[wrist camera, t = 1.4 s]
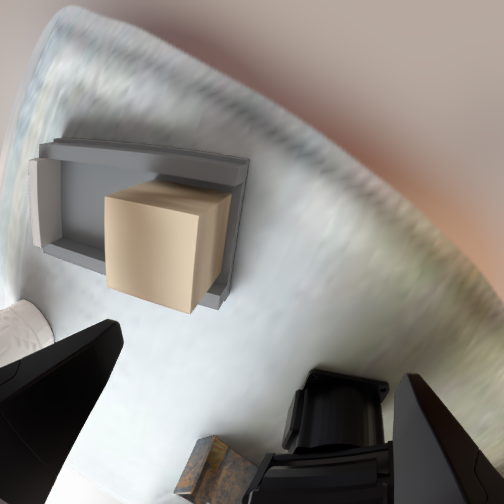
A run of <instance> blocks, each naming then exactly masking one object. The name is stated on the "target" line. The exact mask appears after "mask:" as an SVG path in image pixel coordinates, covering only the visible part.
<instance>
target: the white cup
mask: <svg viewBox="0 0 504 504" xmlns="http://www.w3.org/2000/svg"><path fill="white" fill-rule="evenodd" d="M51 344H54V337H53V333H52V331H51V328H50V326H49V324H48V322H47V321H46V319H45V318H44V316H43V315H42V313H41V312H40V311H39V310H38V309H37V308H36V307H35V306H34V305H33V304H32V303H31V302H29V301H27V300H25V299H23V300H19V301H17V302H15V303H14V304H12V305H10V306H9V307H7V308H6V309H2V310H1V311H0V367H3V366H5V365H7V364H10V363H12V362H14V361H16V360H19V359H22V358H23V357H25V356H27V355H30V354H32V353H34V352H36V351H38V350H41V349H43V348H45V347H47V346H49V345H51Z"/></svg>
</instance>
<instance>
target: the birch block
mask: <svg viewBox="0 0 504 504" xmlns="http://www.w3.org/2000/svg"><path fill="white" fill-rule="evenodd" d="M231 197H232V193H227V192H222V191H217V190H212V189H206V188H201V187H196V186H190V185H185V184H179V183H174V182H168V181H162V180H156V179H154V180H151V181H148V182H145V183H142V184H139V185H136V186H133V187H130V188H127V189H124V190H121V191H118V192H115V193H113V194H110V195H107V196H105V210H104V226H105V262H106V280H107V287H109V288H112V289H114V290H117V291H120V292H123V293H126V294H129V295H132V296H134V297H137V298H140V299H143V300H146V301H149V302H152V303H155V304H159V305H162V306H165V307H168V308H171V309H174V310H177V311H181V312H184V313H187V314H191V313H192V311H193V310H194V308H195V307H196V306H197V304H198V303H199V302H200V300H201V299H202V298H203V296H204V295H205V293H206V292H207V291H208V289H209V288H210V287H211V285H212V284H213V283H214V281H215V280H216V279H217V277H218V276H219V274H220V273H221V269H222V262H223V254H224V247H225V239H226V232H227V225H228V218H229V211H230V204H231Z"/></svg>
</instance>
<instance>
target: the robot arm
mask: <svg viewBox="0 0 504 504" xmlns="http://www.w3.org/2000/svg"><path fill="white" fill-rule="evenodd" d="M123 344H124V340H123V336H122V331H121V327H120V324H119V322H117V321H114V320H111V319H106V320H104V321H102V322H99V323H97V324H95V325H93V326H91V327H88V328H86V329H84V330H82V331H80V332H78V333H75V334H73V335H71V336H69V337H67V338H65V339H62V340H60V341H58V342H56V343H54V344H51V345H49V346H47V347H45V348H43V349H41V350H38V351H36V352H34V353H32V354H30V355H27V356H25V357H23V358H22V359H19V360H16V361H14V362H12V363H10V364H7V365H5V366H3V367H0V504H45V502H46V499H47V497H48V495H49V493H50V491H51V489H52V487H53V485H54V483H55V481H56V479H57V476H58V474H59V472H60V470H61V468H62V466H63V464H64V462H65V460H66V458H67V456H68V454H69V452H70V450H71V449H72V447H73V445H74V443H75V441H76V439H77V437H78V435H79V433H80V431H81V430H82V428H83V426H84V424H85V422H86V420H87V418H88V417H89V415H90V413H91V411H92V409H93V407H94V406H95V404H96V402H97V400H98V398H99V397H100V395H101V393H102V391H103V389H104V388H105V386H106V384H107V382H108V380H109V378H110V375H111V373H112V371H113V368H114V366H115V364H116V361H117V359H118V357H119V354H120V352H121V350H122V348H123ZM313 375H316V377H314V376H313ZM382 388H384V389H382ZM389 390H390V388H389V384H388V383H386V382H381V381H375V380H369V379H364V378H358V377H352V376H347V375H342V374H337V373H332V372H327V371H322V370H317V369H313V370H311V371H309V373H308V375H307V378H306V381H305V383H304V386H303V388H302V390H300V389H299V390H297V391H296V393H295V395H294V398H293V400H292V403H291V405H290V408H289V411H288V416H287V421H286V426H285V431H284V436H283V441H282V447H283V449H286V450H289V451H288V454H275V453H268V454H266V456H265V458H264V459H263V461H262V463H261V465H260V467H259V468H258V470H257V472H256V474H255V476H254V478H253V480H252V481H251V483H250V485H249V487H248V489H247V490H246V492H245V494H244V496H243V498H242V504H504V478H503V477H502V476H501V475H500V473H499V472H498V471H497V470H496V469H495V468H494V467H493V465H492V464H491V463H490V462H489V460H488V459H487V458H486V457H485V455H484V454H483V453H482V451H481V450H479V448H478V446H477V445H476V444H475V442H474V441H473V440H472V439H471V437H470V436H469V435H468V433H467V432H466V431H465V430H464V428H463V427H462V426H461V425H460V423H459V422H458V421H457V420H456V418H455V417H454V416H453V415H452V413H451V412H450V411H449V410H448V408H447V407H446V406H445V405H444V404H443V402H442V401H441V400H440V399H439V397H438V396H437V395H436V394H435V393H434V391H433V390H432V389H431V388H430V387H429V385H428V384H427V383H426V382H425V381H424V379H423V378H422V377H421V376H420V375H419V374H417V373H407V374H405V375H404V377H403V379H402V381H401V382H400V384H399V386H398V388H397V389H396V392H395V397H394V424H393V440H392V441H388V443H385V441H384V428H383V417H382V407H381V403H382V402H383V400H384V398H385V397H386V395H387V394H388V392H389Z"/></svg>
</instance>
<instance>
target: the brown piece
mask: <svg viewBox="0 0 504 504" xmlns="http://www.w3.org/2000/svg"><path fill="white" fill-rule="evenodd" d="M257 470H258V467H257V466H255V465H254V464H252V463H251V462H249V461H248V460H246V459H245V458H243V457H242V456H240V455H239V454H238V453H236V452H235V451H233V450H232V449H231V448H230V447H229V446H227V445H226V444H224V443H223V442H222V441H220V440H219V439H218V438H216V437H215V436H214V435H213V436H209V437H206V438H203V439H199V440H197V442H196V445H195V447H194V449H193V451H192V453H191V456H190V458H189V460H188V462H187V464H186V467H185V469H184V471H183V473H182V475H181V477H180V480H179V482H178V484H177V486H176V488H175V490H174V492H173V493H174V494H176V495H177V496H179V497H181V498H182V499H184V500H186V501H188V502H189V503H191V504H242V498H243V496H244V494H245V492H246V490H247V489H248V487H249V485H250V483H251V481H252V480H253V478H254V476H255V474H256V472H257Z"/></svg>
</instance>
